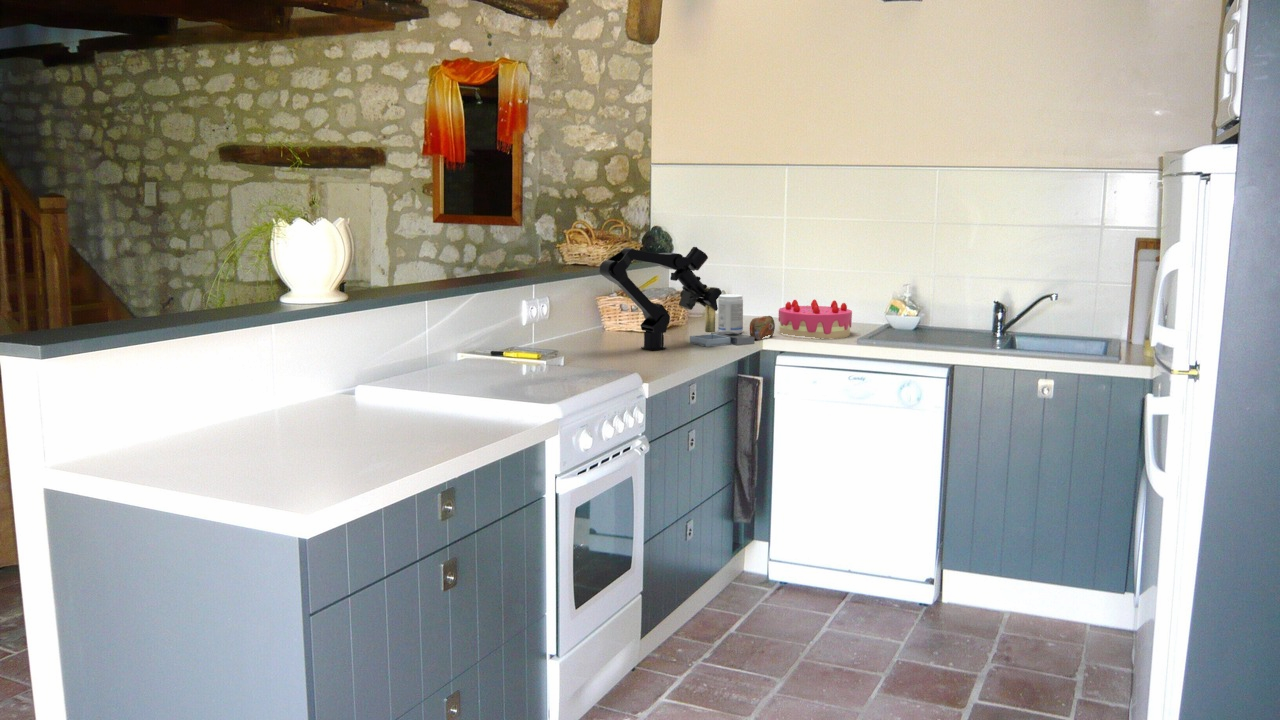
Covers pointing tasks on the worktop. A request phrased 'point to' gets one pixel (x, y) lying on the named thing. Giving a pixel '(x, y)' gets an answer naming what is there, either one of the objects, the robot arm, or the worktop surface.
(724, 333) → the hitch plate
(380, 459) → the worktop surface
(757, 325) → the tin
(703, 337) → the tray
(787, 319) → the cake
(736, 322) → the supplement tub
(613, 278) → the robot arm
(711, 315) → the pin
